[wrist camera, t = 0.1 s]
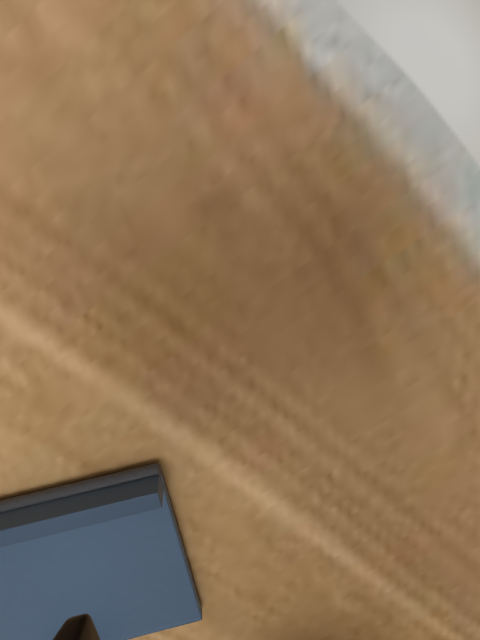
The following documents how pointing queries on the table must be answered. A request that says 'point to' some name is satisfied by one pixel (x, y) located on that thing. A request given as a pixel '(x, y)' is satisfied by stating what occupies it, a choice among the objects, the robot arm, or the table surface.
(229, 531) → the table surface
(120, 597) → the board
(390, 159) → the table surface
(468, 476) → the table surface
